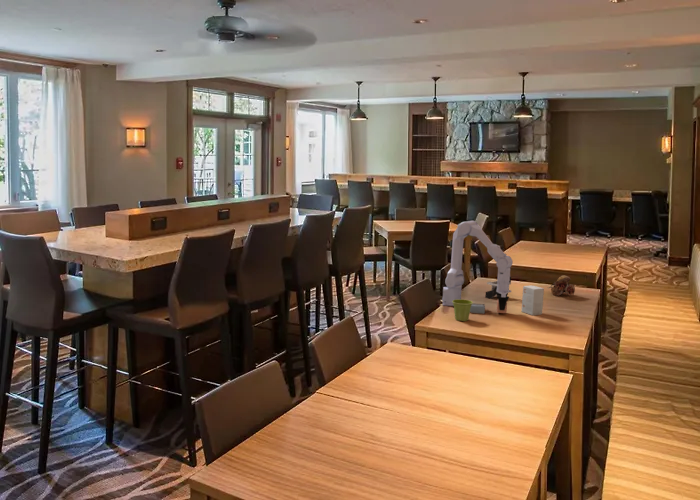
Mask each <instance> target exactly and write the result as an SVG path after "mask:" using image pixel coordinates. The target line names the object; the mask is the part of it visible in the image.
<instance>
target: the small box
mask: <svg viewBox="0 0 700 500" xmlns="http://www.w3.org/2000/svg"><path fill="white" fill-rule="evenodd" d="M544 292H545V288H544V287H540V286H537V285H523V287H522V298H521V299H522V301H521V312H522V313H524V314H528V315H531V316H539V315H543V307H544V294H545V293H544Z"/></svg>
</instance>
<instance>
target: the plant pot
mask: <svg viewBox="0 0 700 500" xmlns="http://www.w3.org/2000/svg"><path fill="white" fill-rule="evenodd" d="M452 302H453V305H454V306H453V311H454V319H455V320H456V321H459V322H460V321H461V322H467V321H469V319H470V314H471V313H470V308H471V306H472V304H473V301H472V300H470V299H462V298H461V299H457V300H453V301H452Z"/></svg>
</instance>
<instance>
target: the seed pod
mask: <svg viewBox="0 0 700 500" xmlns="http://www.w3.org/2000/svg"><path fill="white" fill-rule="evenodd" d="M571 280H572V279H571V278H570V276H568V275H563V274H562V275H561V276H559V277H558V278H557V280H556V281H553V282H552V283H551V285H550V286H549V287H548V289H550V291H551V294H552V295H553V296H560V295H562V294H566V295H568V296H572V295H573V296H574V295H575V293H576V289H575V285H574V284H572V283H569V282H570V281H571Z"/></svg>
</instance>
